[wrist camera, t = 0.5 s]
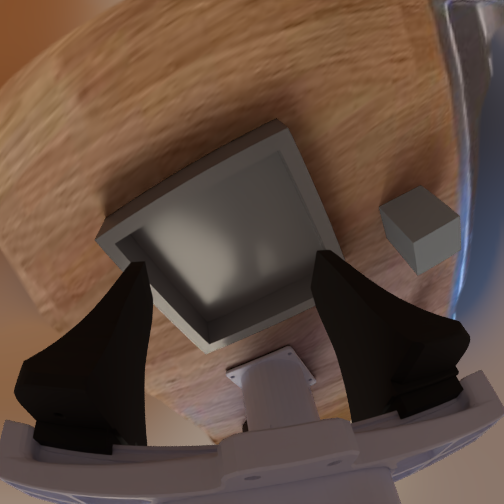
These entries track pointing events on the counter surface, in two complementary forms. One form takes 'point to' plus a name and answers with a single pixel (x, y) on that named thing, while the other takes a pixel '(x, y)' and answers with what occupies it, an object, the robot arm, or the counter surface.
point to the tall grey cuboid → (421, 228)
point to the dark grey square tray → (228, 238)
